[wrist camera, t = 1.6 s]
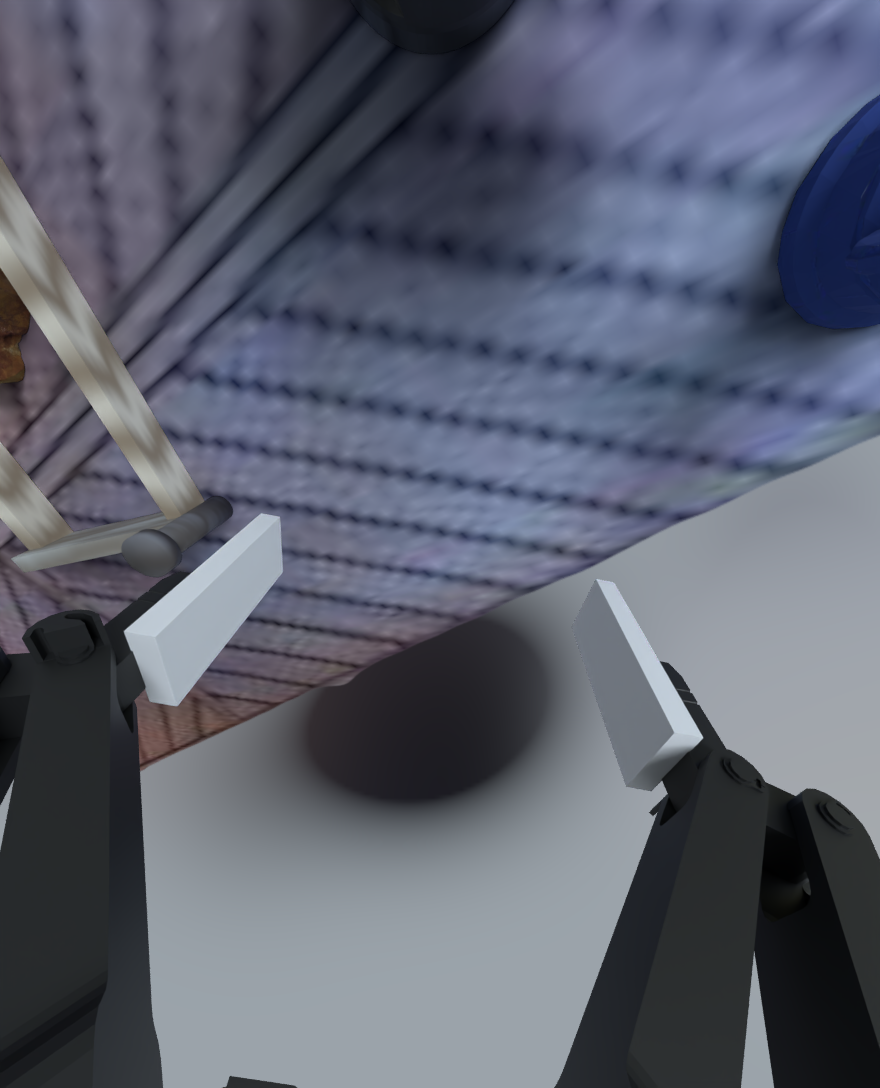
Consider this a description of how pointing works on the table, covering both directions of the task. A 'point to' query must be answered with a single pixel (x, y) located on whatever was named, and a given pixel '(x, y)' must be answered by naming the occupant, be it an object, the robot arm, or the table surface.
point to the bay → (74, 332)
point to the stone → (11, 331)
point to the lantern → (837, 231)
